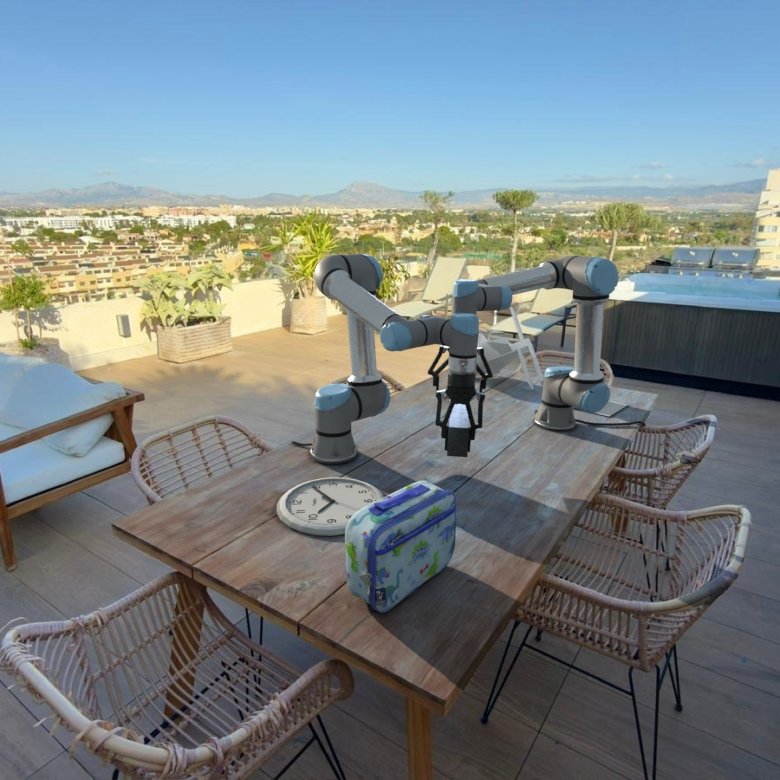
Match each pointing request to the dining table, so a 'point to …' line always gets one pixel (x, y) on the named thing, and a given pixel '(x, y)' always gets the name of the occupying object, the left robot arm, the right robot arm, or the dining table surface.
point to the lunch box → (399, 543)
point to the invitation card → (611, 408)
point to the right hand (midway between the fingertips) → (458, 397)
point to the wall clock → (325, 504)
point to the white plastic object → (507, 353)
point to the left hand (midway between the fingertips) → (457, 449)
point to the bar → (458, 431)
